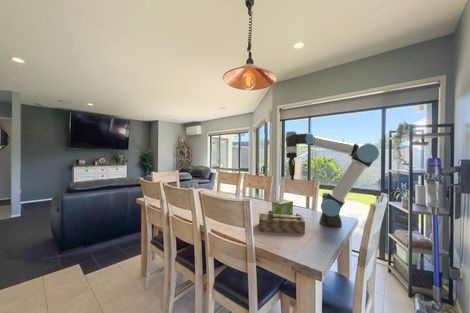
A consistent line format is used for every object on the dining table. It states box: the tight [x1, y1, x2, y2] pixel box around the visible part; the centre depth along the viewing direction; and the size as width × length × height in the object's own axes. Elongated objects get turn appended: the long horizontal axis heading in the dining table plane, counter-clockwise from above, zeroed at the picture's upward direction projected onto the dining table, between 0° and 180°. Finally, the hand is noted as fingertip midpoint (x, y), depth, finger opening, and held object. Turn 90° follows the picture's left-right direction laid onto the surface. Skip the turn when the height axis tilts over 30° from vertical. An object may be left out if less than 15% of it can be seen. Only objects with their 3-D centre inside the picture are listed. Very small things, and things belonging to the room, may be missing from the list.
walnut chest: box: [258, 210, 306, 234], centre depth 146 cm, size 30×14×11 cm, turn 83°
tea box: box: [271, 198, 294, 215], centre depth 165 cm, size 15×10×15 cm
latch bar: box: [273, 214, 300, 219], centre depth 145 cm, size 21×4×2 cm, turn 83°
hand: (292, 184), depth 154 cm, fingers closed
